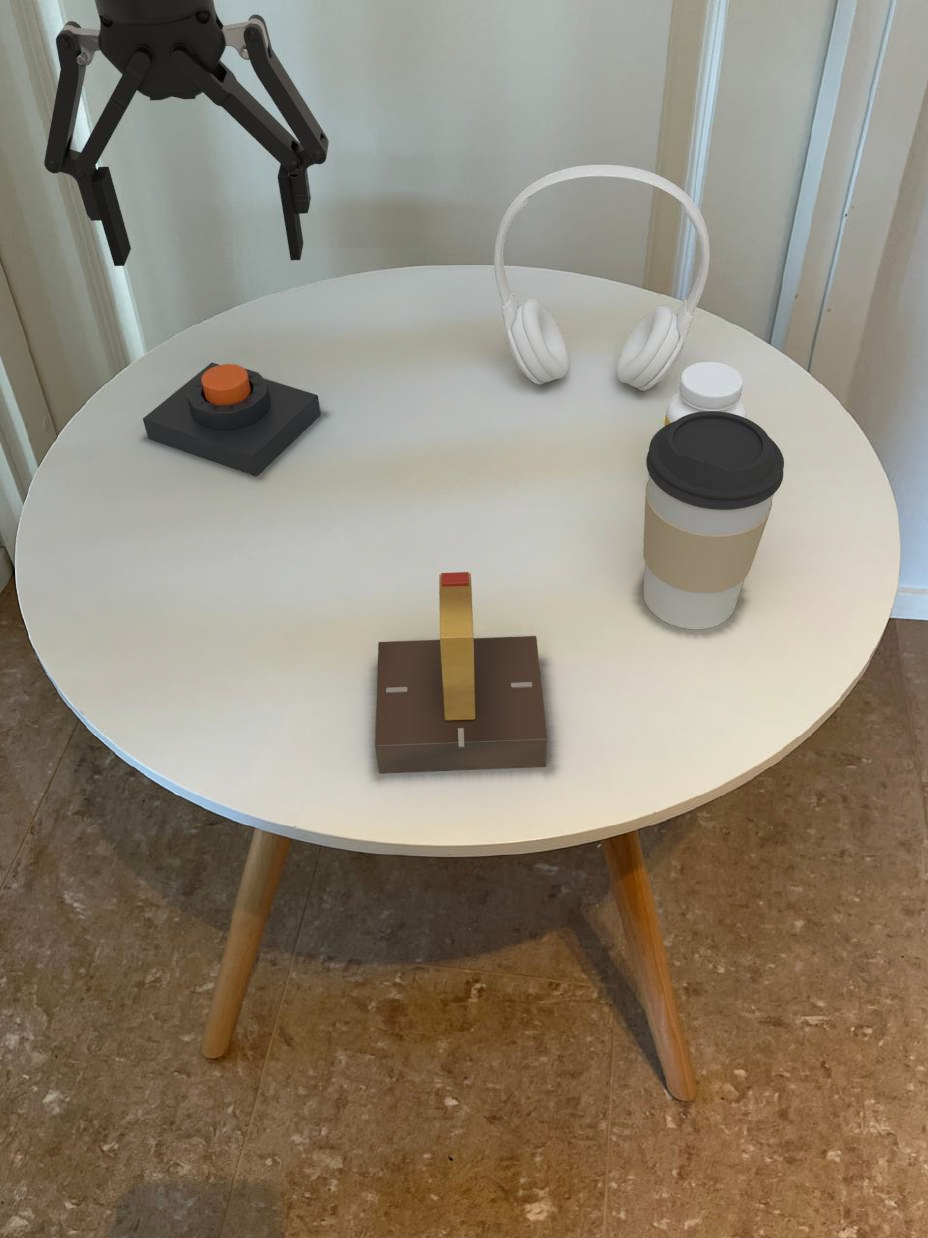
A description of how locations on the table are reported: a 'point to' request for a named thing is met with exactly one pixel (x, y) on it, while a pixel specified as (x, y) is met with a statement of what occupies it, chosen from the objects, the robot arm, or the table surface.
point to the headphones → (652, 338)
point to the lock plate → (490, 741)
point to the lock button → (226, 384)
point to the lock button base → (234, 422)
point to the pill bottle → (707, 391)
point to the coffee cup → (705, 514)
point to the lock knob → (457, 645)
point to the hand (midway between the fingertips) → (210, 254)
